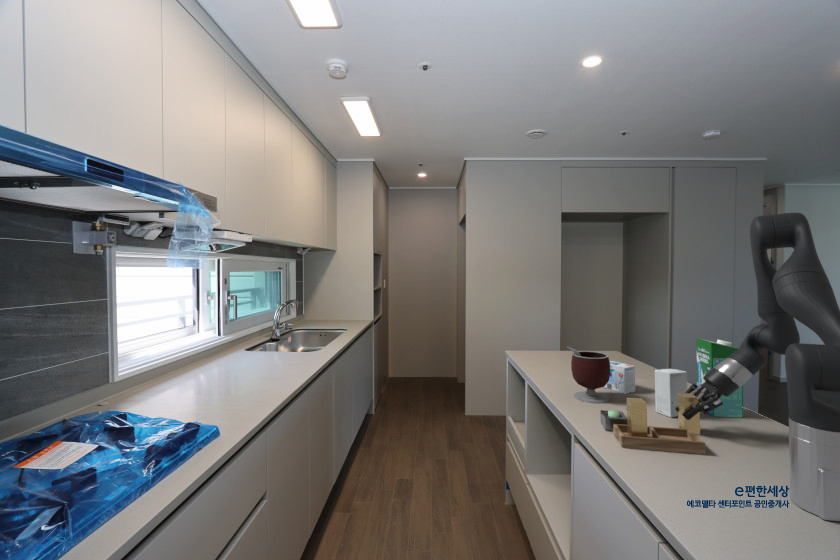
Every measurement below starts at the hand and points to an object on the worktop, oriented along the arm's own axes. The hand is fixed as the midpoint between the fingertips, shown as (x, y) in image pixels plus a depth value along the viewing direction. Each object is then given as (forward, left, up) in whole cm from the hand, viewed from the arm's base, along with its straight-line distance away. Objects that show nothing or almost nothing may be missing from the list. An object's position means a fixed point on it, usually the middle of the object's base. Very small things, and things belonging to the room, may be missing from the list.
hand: (681, 414), depth 109 cm
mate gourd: (+27, +21, -5) cm, 35 cm away
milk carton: (+19, -19, -5) cm, 27 cm away
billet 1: (-10, +15, -5) cm, 19 cm away
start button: (-1, +19, -4) cm, 20 cm away
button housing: (-1, +19, -5) cm, 20 cm away
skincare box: (+15, -3, -5) cm, 16 cm away
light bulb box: (+40, +7, -5) cm, 41 cm away
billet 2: (0, -2, -5) cm, 5 cm away
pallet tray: (-10, +11, -5) cm, 16 cm away
